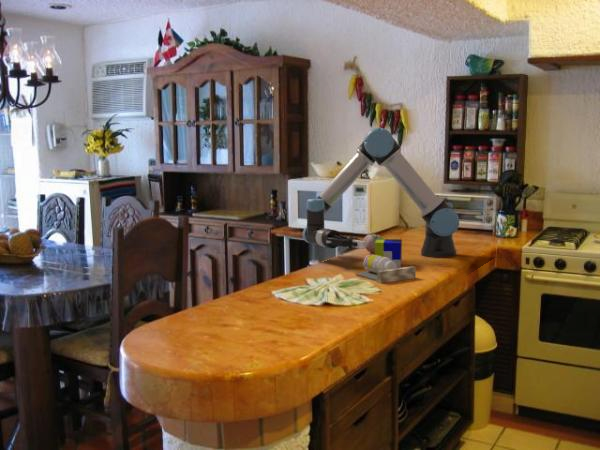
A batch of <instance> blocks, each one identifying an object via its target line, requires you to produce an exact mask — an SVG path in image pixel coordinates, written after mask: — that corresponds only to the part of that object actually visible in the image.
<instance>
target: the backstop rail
mask: <svg viewBox="0 0 600 450" xmlns="http://www.w3.org/2000/svg"><path fill="white" fill-rule="evenodd" d="M411 279H416V266H412V265H411V266H404V267H401V268H396V269H389V270H381V271H377V281H376V283H378V284H385V283H392V282H397V281H398V282H399V281H404V280H411Z"/></svg>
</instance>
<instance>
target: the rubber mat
mask: <svg viewBox="0 0 600 450" xmlns="http://www.w3.org/2000/svg"><path fill="white" fill-rule="evenodd" d="M355 276H357V277H360V278H364V279H368V280H371V281H375V282H377V273H373V272H370V271H367V272H360V273H355Z"/></svg>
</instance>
